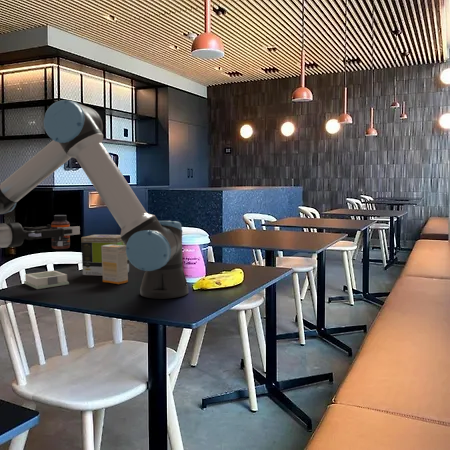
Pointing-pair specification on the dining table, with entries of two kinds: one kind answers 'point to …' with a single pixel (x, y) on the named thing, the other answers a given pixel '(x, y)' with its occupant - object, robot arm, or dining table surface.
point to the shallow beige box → (46, 279)
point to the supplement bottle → (58, 241)
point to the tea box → (96, 252)
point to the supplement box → (114, 264)
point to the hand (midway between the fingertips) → (74, 229)
